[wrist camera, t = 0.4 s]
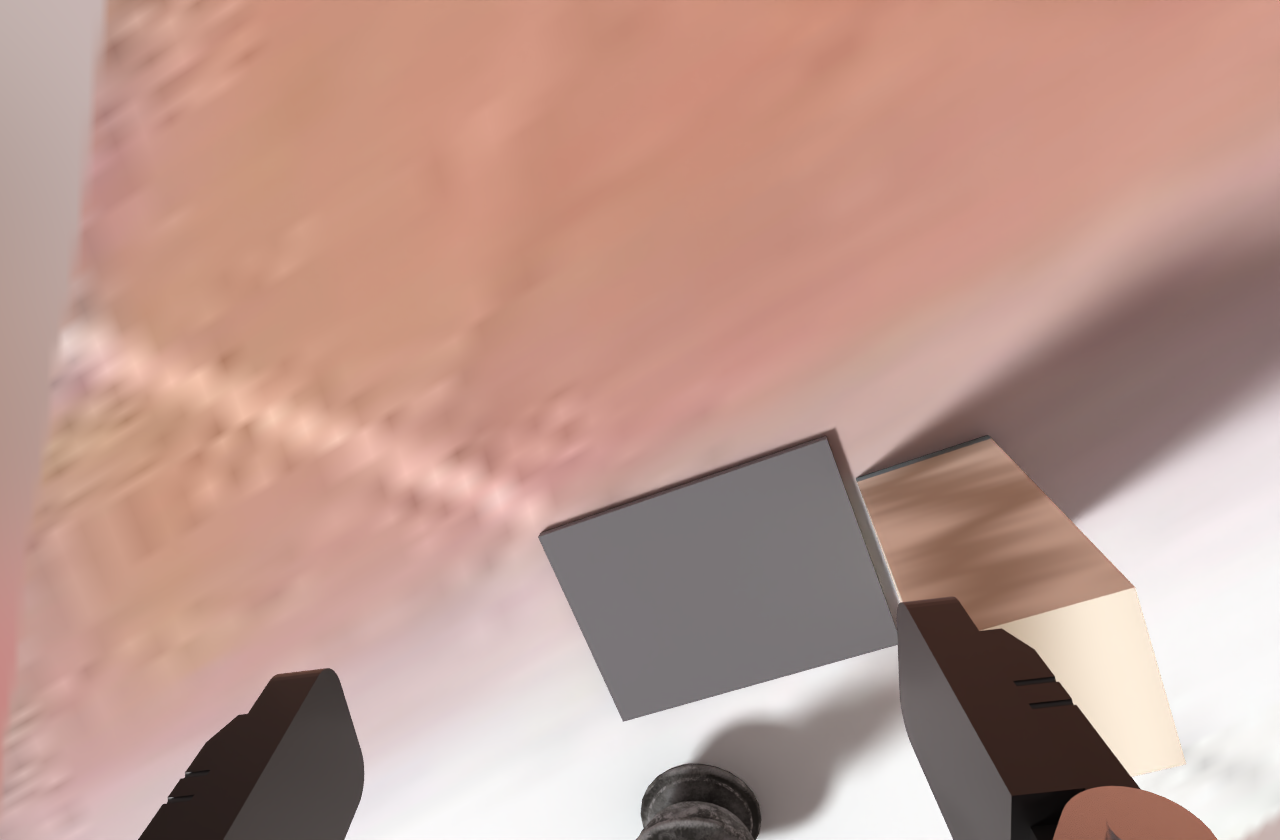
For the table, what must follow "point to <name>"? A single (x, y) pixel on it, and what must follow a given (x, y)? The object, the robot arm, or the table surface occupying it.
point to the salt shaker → (699, 806)
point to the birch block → (1027, 586)
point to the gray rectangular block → (723, 582)
